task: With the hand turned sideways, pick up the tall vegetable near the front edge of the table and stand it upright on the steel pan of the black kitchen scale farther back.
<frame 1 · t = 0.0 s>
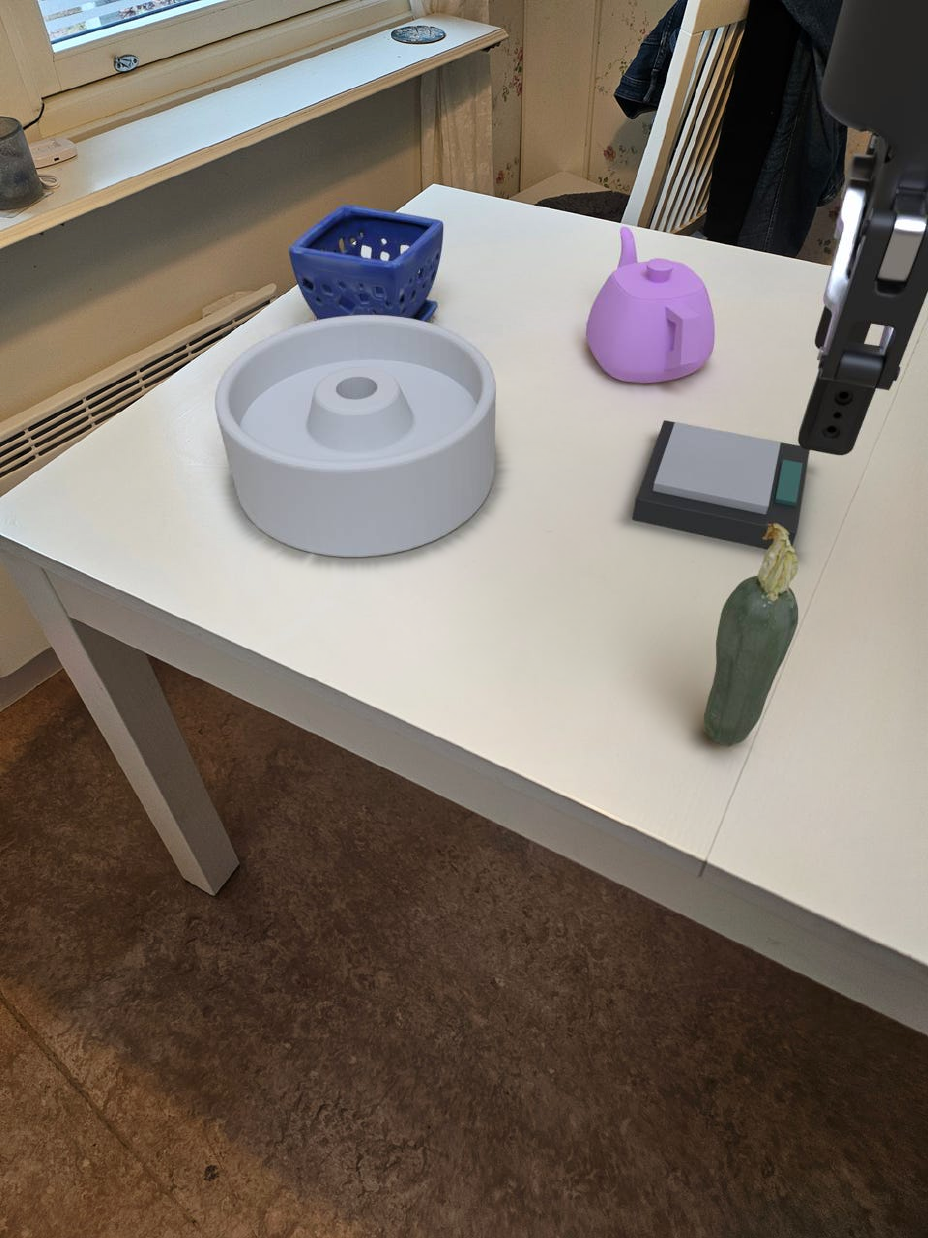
hand: (829, 394, 39), 30 cm above the table, tool pointing down, fingers open, 8 cm apart
teapot: (643, 357, 99), on the table
container: (366, 473, 85), on the table
vegetable: (714, 747, 63), on the table
scale: (720, 493, 82), on the table
flower pot: (376, 333, 103), on the table
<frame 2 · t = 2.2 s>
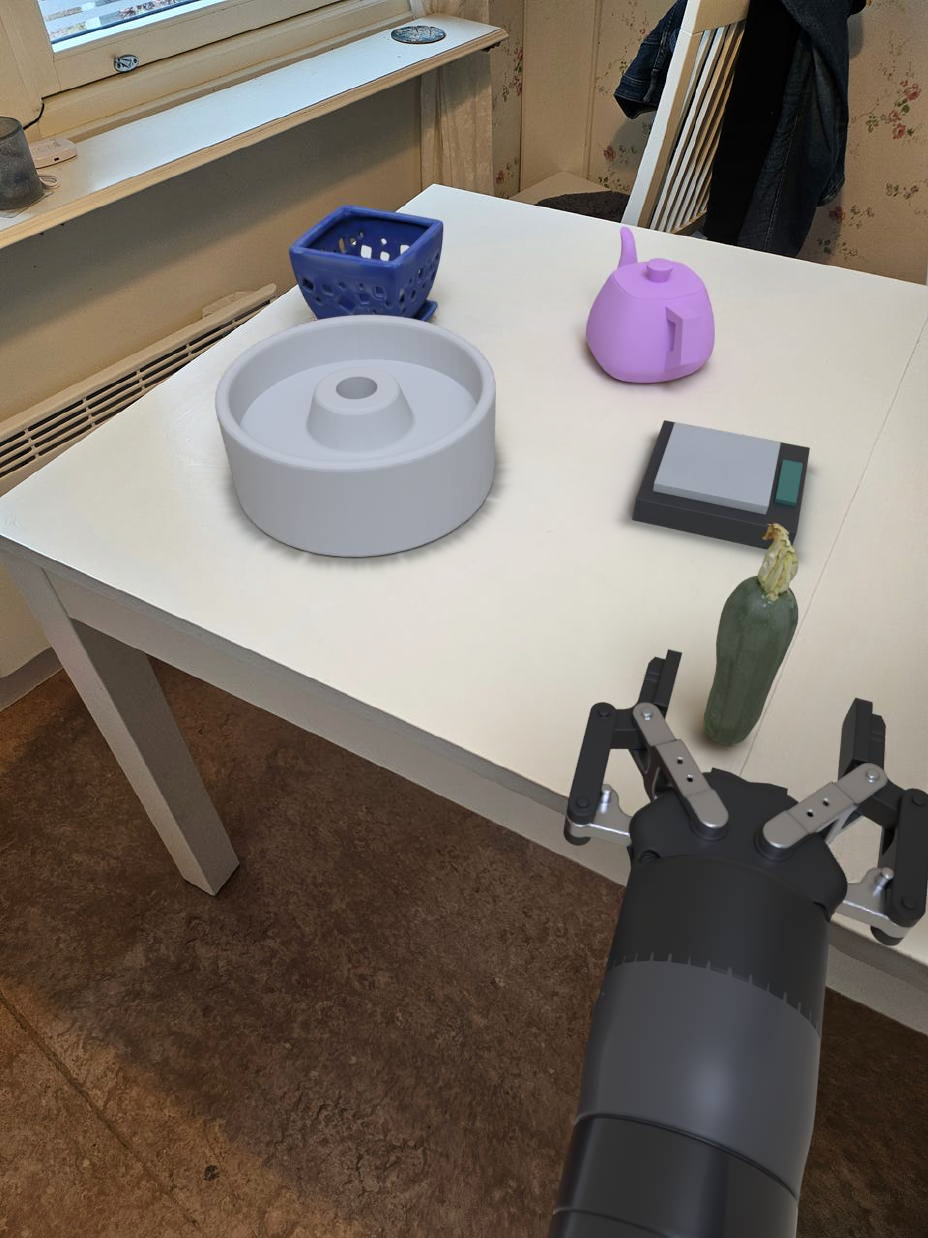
hand: (762, 685, 41), 20 cm above the table, tool horizontal, fingers open, 8 cm apart
nothing on the table moved.
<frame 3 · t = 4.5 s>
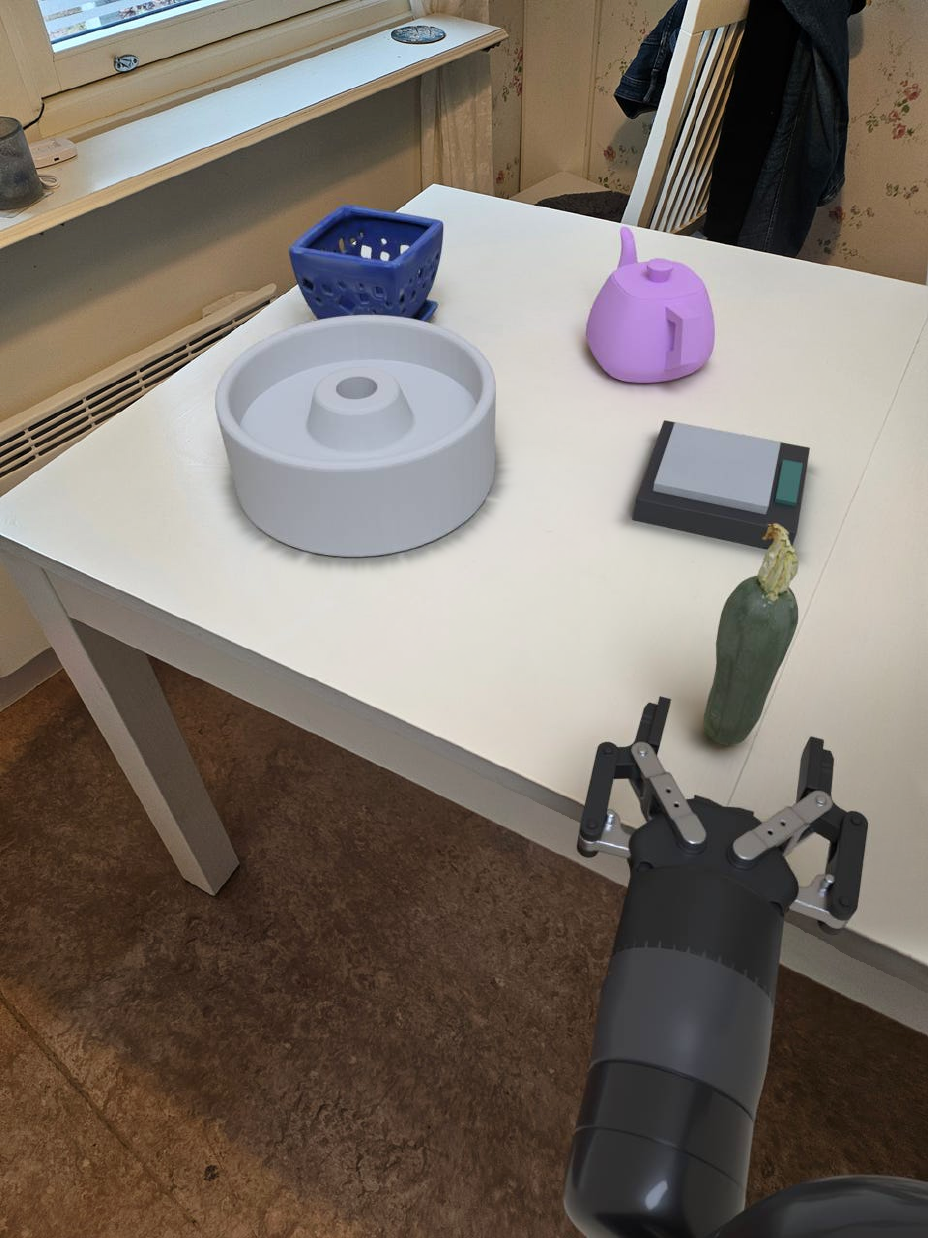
hand: (736, 725, 50), 11 cm above the table, tool horizontal, fingers open, 8 cm apart
nothing on the table moved.
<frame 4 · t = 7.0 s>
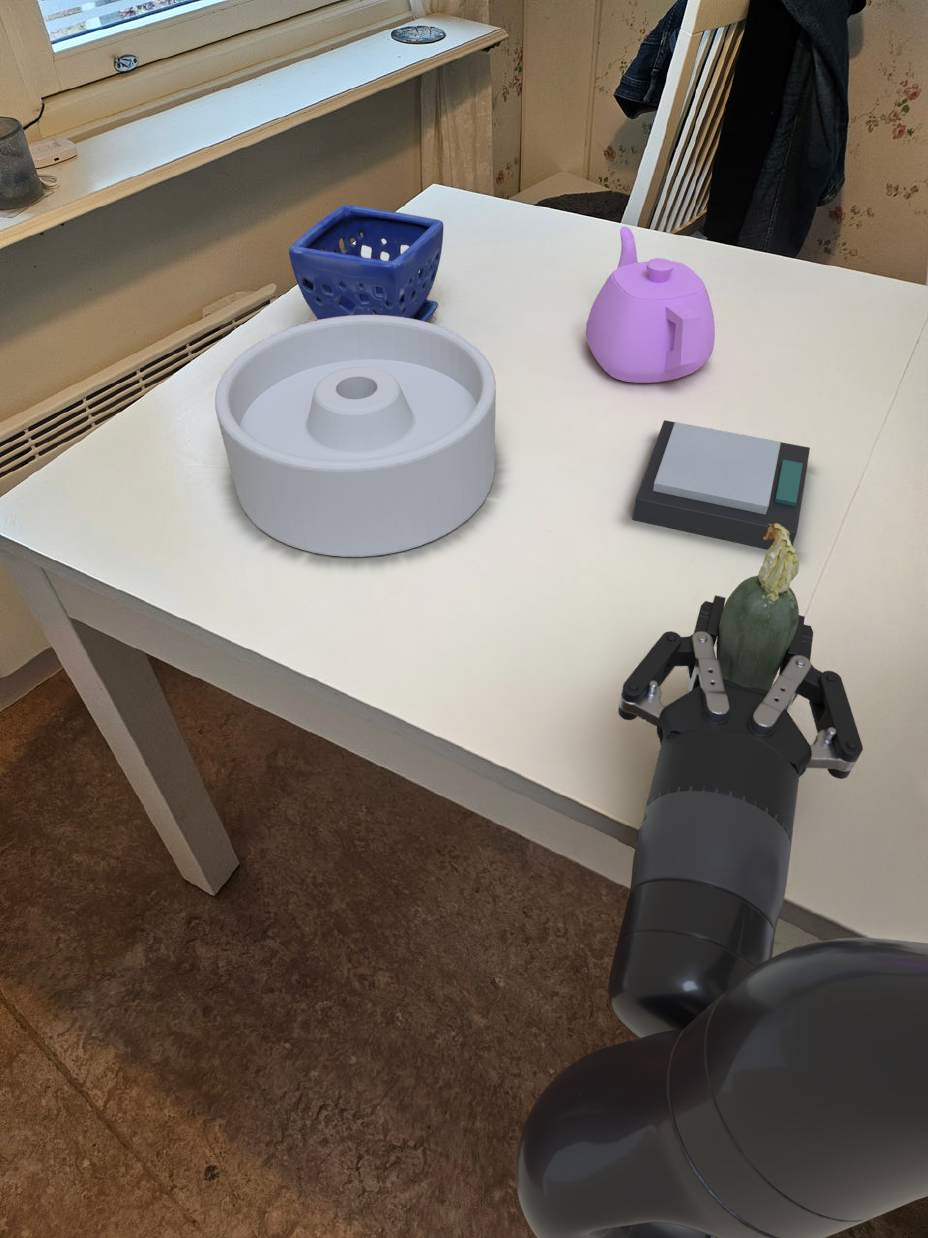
hand: (755, 615, 56), 11 cm above the table, tool horizontal, fingers closed on vegetable, 4 cm apart
vegetable: (714, 747, 63), on the table, touching gripper
everything else where it was.
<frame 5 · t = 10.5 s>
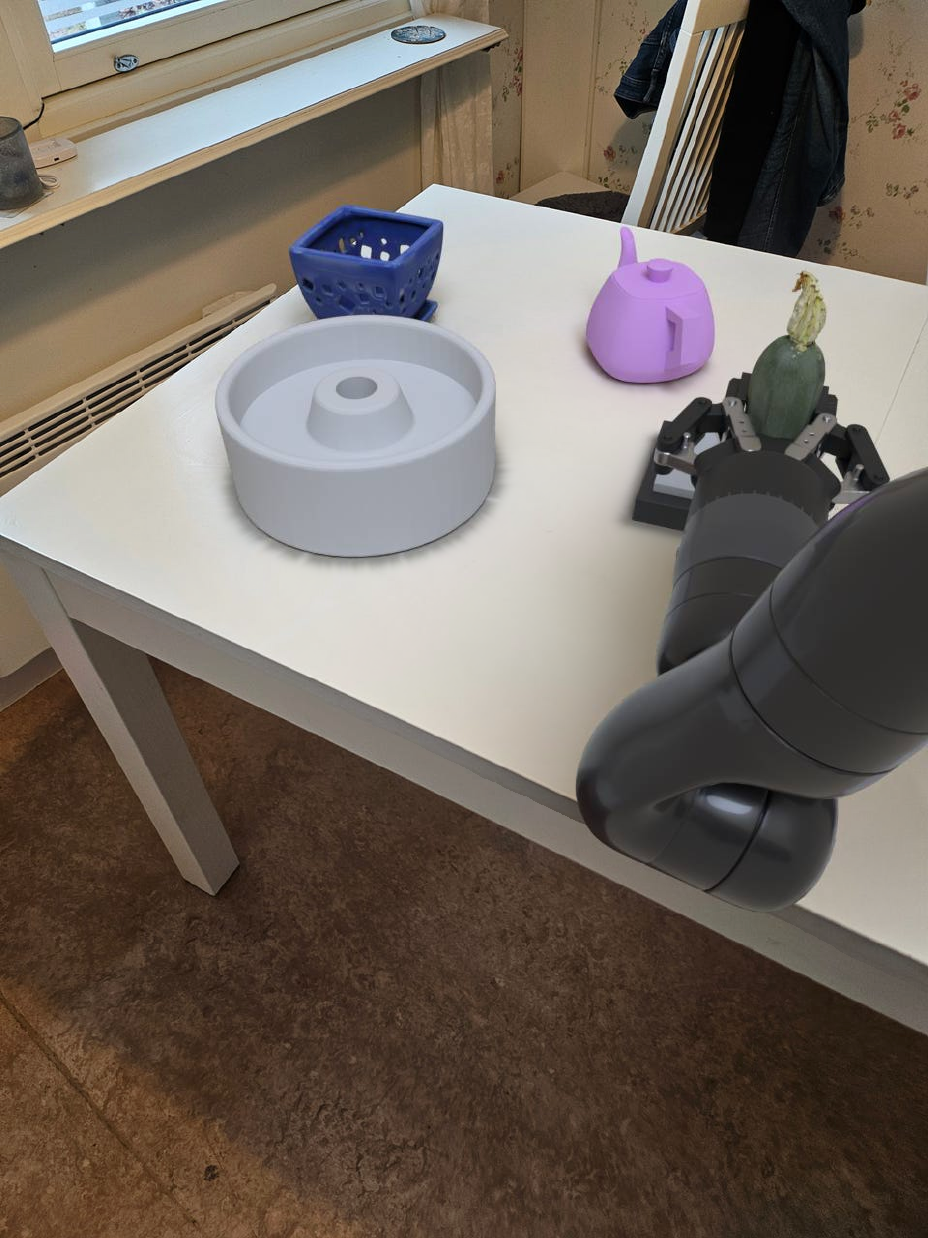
hand: (781, 391, 58), 20 cm above the table, tool horizontal, fingers closed on vegetable, 4 cm apart
vegetable: (739, 542, 65), point 8 cm above the table, touching gripper
everything else where it was.
when the fingers open (15 cm above the table, at t = 14.4 s): vegetable stays where it is, resting on scale.
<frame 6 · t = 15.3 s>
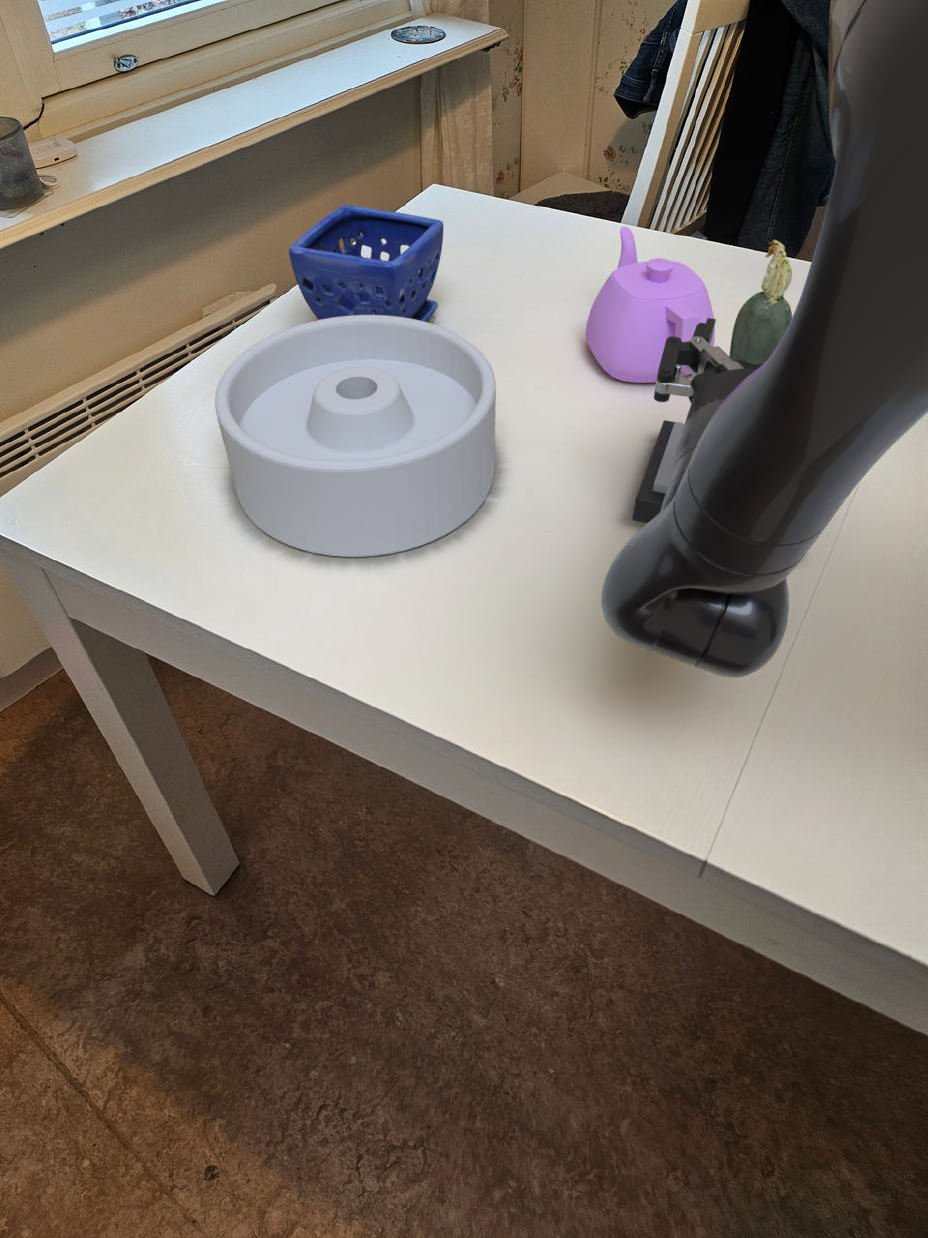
hand: (761, 336, 72), 15 cm above the table, tool horizontal, fingers open, 8 cm apart
vegetable: (726, 465, 79), point 3 cm above the table, touching scale
everything else where it was.
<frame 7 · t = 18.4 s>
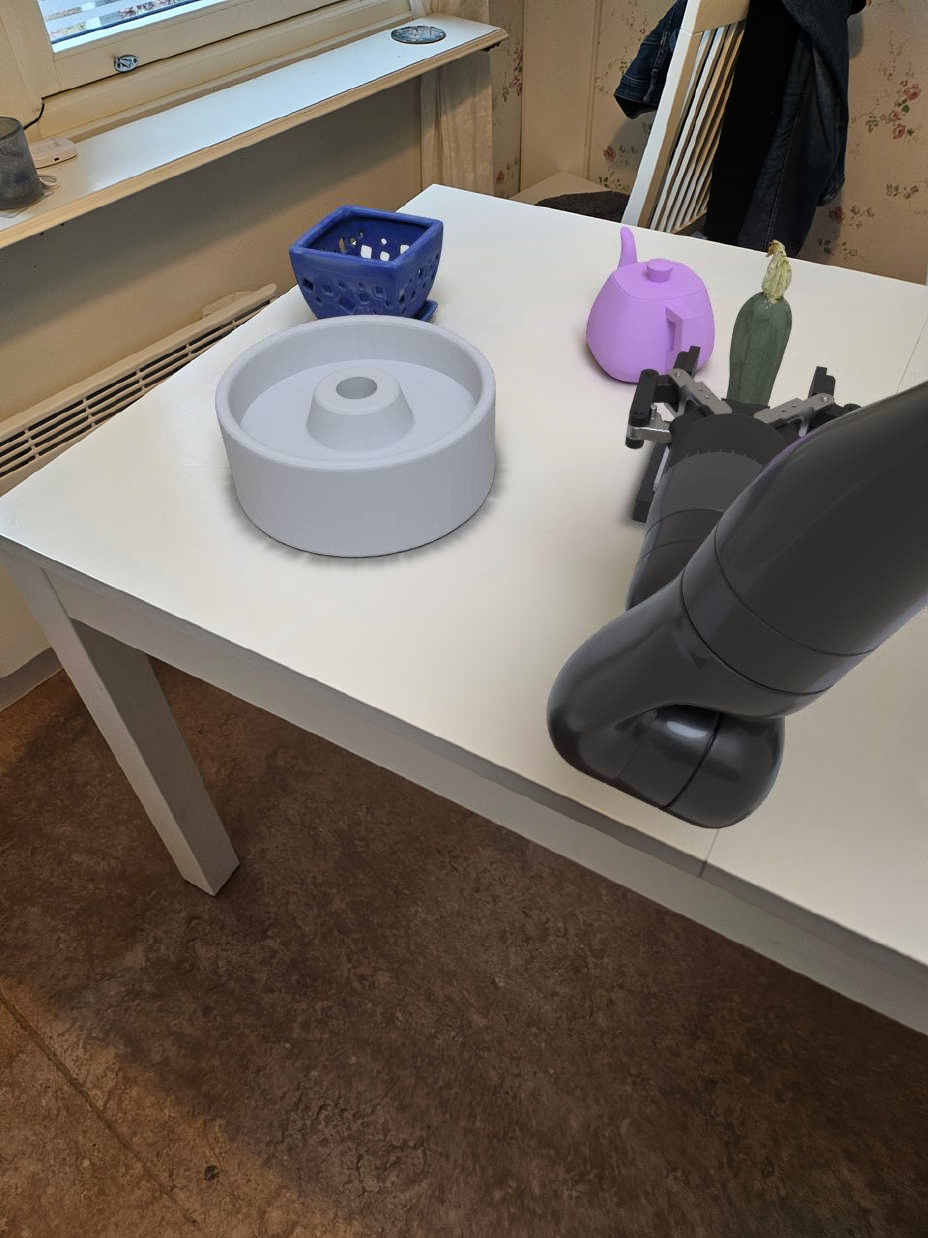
hand: (754, 367, 61), 19 cm above the table, tool horizontal, fingers open, 8 cm apart
nothing on the table moved.
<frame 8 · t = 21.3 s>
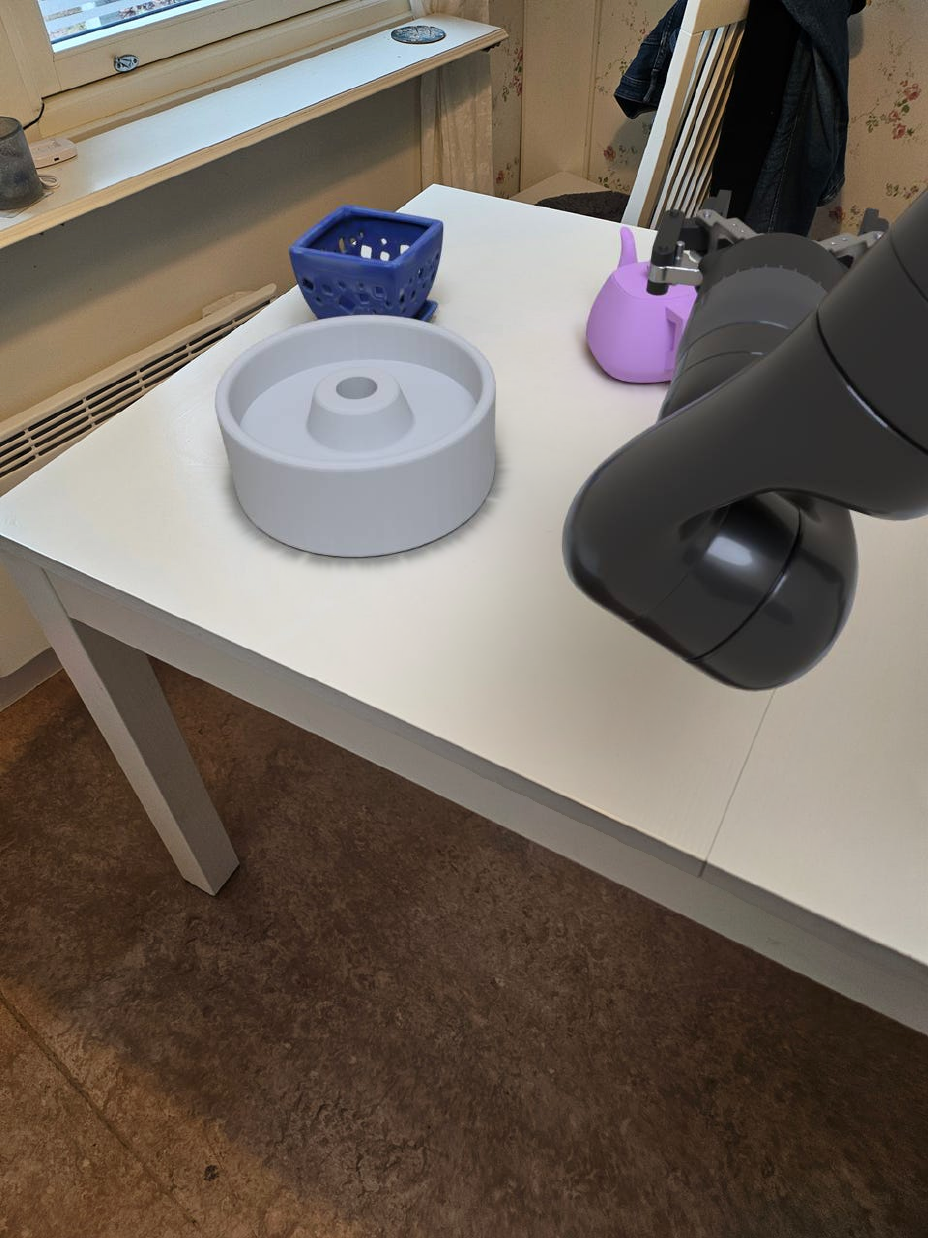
hand: (793, 215, 53), 30 cm above the table, tool horizontal, fingers open, 8 cm apart
nothing on the table moved.
at the end: vegetable inside the target area on the scale (0.4 cm from its centre), point 3.3 cm above the scale's base; vegetable tilted 0°; the gripper is holding nothing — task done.
